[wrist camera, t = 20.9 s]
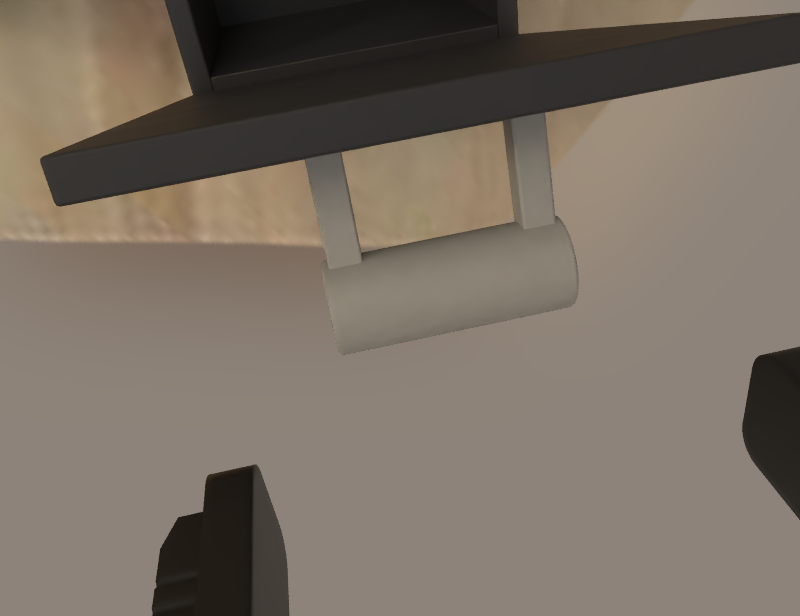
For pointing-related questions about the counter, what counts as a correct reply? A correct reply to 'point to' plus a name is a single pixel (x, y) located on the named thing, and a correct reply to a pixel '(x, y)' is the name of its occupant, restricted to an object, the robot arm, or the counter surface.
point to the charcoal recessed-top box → (321, 34)
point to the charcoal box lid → (414, 117)
